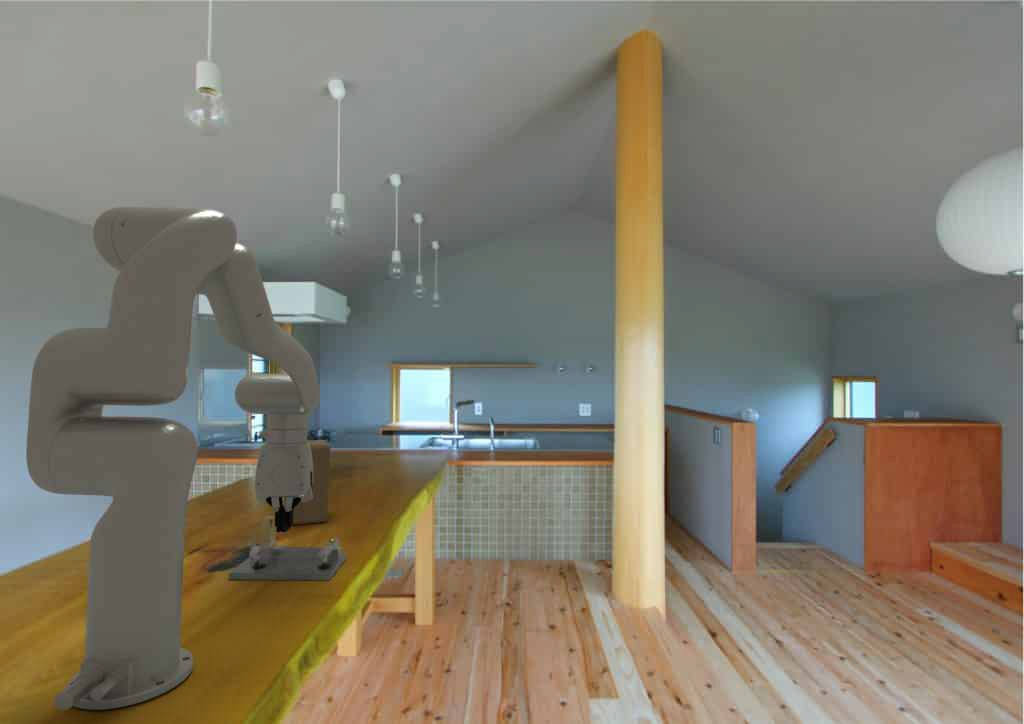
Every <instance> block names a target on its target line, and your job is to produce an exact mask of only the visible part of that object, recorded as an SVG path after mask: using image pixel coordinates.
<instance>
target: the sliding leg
mask: <svg viewBox="0 0 1024 724" xmlns="http://www.w3.org/2000/svg"><path fill="white" fill-rule="evenodd" d="M276 529H277V527H275V515H266V516H264V517H263V518H262V519H261V518H260V538H259V539H260V540H259V543H260V544H259V545H257V546H258V547H256V548H255V549H254V550H252V551H251V552H250V551H249V554H248V555H249V556H248V558H249V557H255V559H254V565H259V555H260V554H262V553H263V552H264V551H265V550H267V549H268V548H270V547H271V546H275V544H276V538H277V537H276V535H277V534H276V533H277V532H276Z"/></svg>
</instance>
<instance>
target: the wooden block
mask: <svg viewBox="0 0 1024 724" xmlns="http://www.w3.org/2000/svg"><path fill="white" fill-rule="evenodd" d="M307 444H310V447H311V452H312V460H313V489H312V494H313V498H312V499H311V500H310V501H306V502H301V503H299V504H298V505H297V506H296V507H295V508H294V509H293V525H292V526H295V525H296V526H297V525H298V526H299V525H307V524H319V523H321V522H322V523H326V522H327V521H328V520H329V519H328V518H329V502H330V501H329V499H330V496H329V494H330V471H331V470H330V469H331V468H330V464H331V445H330V443H328V442H327V441H326V440H324V439H317V440H315V439H313V440H311V439H309V440H308V439H307ZM286 500H287V497H284V508H285V505H286Z"/></svg>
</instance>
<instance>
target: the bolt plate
mask: <svg viewBox="0 0 1024 724" xmlns="http://www.w3.org/2000/svg"><path fill="white" fill-rule="evenodd" d="M339 541H340V540H339V538H335V537H334V538H333V537H332V538H329V539H328V541H326V543H325V545H324V546H305V545H304V546H294V545H293V546H291V545H290V546H289V545H288V546H287V545H285V546H284V545H283V546H282V545H272V546H271V547H270V548H268V549H267V550H265V551H264V552H263V553H262V554H260V555H259V565H254V559H255V557H249V556H248V558H247V559H245V560H243V562H241V563H240V564H239V565H237V566H236V567H235V568H234V569H232V570H230V571H229V572H228V580H229V581H230V580H233V581H235V580H237V581H239V580H244V581H245V580H247V581H251V580H252V581H257V580H259V581H260V580H261V581H269V580H270V581H330V580H331V579H332V577H334V575H335V573H336V572H337V571H338V570H339V568H341V566H342V564H344V562H345V561H346V560H347V552H341V551H342V546H339ZM258 546H259V545H254V546H252V547H251V548H250V551H249V553H250V552H251V551H252V550H254V549H255V548H256V547H258Z"/></svg>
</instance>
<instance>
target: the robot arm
mask: <svg viewBox="0 0 1024 724" xmlns="http://www.w3.org/2000/svg"><path fill="white" fill-rule="evenodd" d="M92 230H93V231H92V236H93V237H92V238H93V243H94V245H95V248H96V251H97V252H98V254H99V255H100V256H101V257H102V259H103V260H104V261H105V262H106V263H107V264H108V265H109V266H111V267H112V268H113V269H115V270H117V271H118V272H119V273H118V275H117V277H116V279H115V282H114V284H113V288H112V291H111V292H112V294H111V301H110V302H111V303H110V309H109V310H110V311H109V317H108V322H107V326H105V327H76V328H68V329H65V330H63V331H60V332H58V333H55V334H54V335H52V336H51V337H50V338H49V339H48V340H47V341H46V342H45V343H44V344H43V345H42V347H41V349H40V350H39V352H38V353H37V355H36V357H35V360H34V364H33V368H32V371H31V372H32V373H31V381H30V391H29V392H30V394H29V406H28V407H29V408H28V418H27V419H28V421H27V432H26V433H27V434H26V450H25V451H26V452H25V453H26V454H25V455H26V456H25V457H26V465H27V466H26V467H27V470H28V473H29V476H30V479H31V481H33V483H34V484H35V486H37V487H38V488H39V489H41V490H44V491H46V492H49V493H52V494H59V495H72V496H73V495H75V496H76V495H77V496H103V497H111V498H112V501H111V503H110V505H109V506H108V508H107V509H106V510H105V512H104V513H103V515H101V517H100V518H99V520H98V522H97V523H96V524H95V526H94V528H93V531H92V533H91V536H90V540H89V550H88V575H87V577H88V578H87V579H88V580H87V596H86V597H87V599H86V616H85V617H86V618H85V619H86V620H85V621H86V623H85V637H84V638H85V639H84V658H83V659H84V660H83V661H82V662H80V665H79V670H78V671H77V672H75V674H74V675H73V676H72V677H71V678H70V679H69V680H68V682H67V683H66V686H65V688H64V689H63V690H61V691H59V693H57V694H56V696H55V697H54V705H55V708H57V709H58V710H60V711H66V710H70V708H72V707H74V708H77V709H82V710H88V711H89V710H91V711H101V710H110V709H111V710H113V709H118V708H122V707H128V706H132V705H136V704H139V703H142V702H146V701H149V700H152V699H153V698H156V697H158V696H161V695H163V694H165V693H167V692H169V691H170V690H172V689H173V688H176V687H177V686H178V685H180V684H182V682H184V680H185V679H186V678H187V677H189V675H190V674H191V673H192V671H193V668H194V655H193V654H192V652H191V651H190V650H188V649H186V648H184V647H181V632H182V631H181V627H182V626H181V625H182V604H183V603H182V602H183V586H184V585H183V582H184V581H183V579H184V557H185V555H184V553H185V535H186V533H185V532H186V515H187V506H188V499H189V493H190V490H191V485H192V481H193V476H194V473H195V469H196V465H197V460H198V452H199V450H198V442H197V439H196V436H195V434H194V433H193V432H192V431H191V430H190V428H188V427H187V426H186V425H185V424H183V423H180V422H178V421H177V420H173V419H169V418H168V419H167V418H164V417H156V416H155V417H153V416H122V415H121V416H119V415H118V416H106V415H105V416H103V411H104V409H103V408H104V406H131V407H132V406H137V407H138V406H139V407H141V406H142V407H147V406H160V405H166V404H169V403H170V404H171V403H173V402H174V401H176V400H178V399H180V397H181V396H182V395H183V393H184V391H185V389H186V386H187V382H188V374H189V368H190V367H189V365H190V354H191V353H190V351H191V350H190V349H191V335H192V322H193V321H192V319H193V310H194V308H193V307H194V302H195V298H196V295H203V296H205V297H206V299H207V301H208V303H209V306H210V309H211V310H212V313H213V316H214V318H215V320H216V323H217V326H218V330H219V331H220V334H221V337H222V339H223V340H224V341H225V342H226V343H227V344H229V345H230V346H232V347H234V348H236V349H238V350H241V351H243V352H245V353H248V354H250V355H252V356H255V357H258V358H261V359H264V360H266V361H269V362H270V363H272V364H274V365H276V366H278V367H279V368H280V369H281V370H283V371H284V372H285V373H251V374H248V375H245V376H244V377H243V378H241V380H239V381H238V383H237V384H236V387H235V390H234V399H235V402H236V404H237V406H238V407H239V408H240V410H242V411H244V412H246V413H250V414H252V415H253V414H254V415H256V414H257V415H266V427H265V430H260V432H259V433H258V437H259V438H262V439H264V442H265V443H263V444H261V445H260V449H259V454H258V457H257V465H256V470H255V478H254V479H255V480H254V493H255V494H256V496H255V499H256V500H257V501H259V502H264V503H267V504H268V505H269V506H270V508H272V512H274V516H275V527H276V533H281V532H282V533H286V532H288V531H290V529H291V527H293V526H294V525H293V509H294V508H295V507H296V506H297V505H298V504H299V503H301V502H306V501H310V500H311V499H312V498H313V494H312V489H313V460H312V452H311V447H310V444H307V440H308V424H309V423H308V422H309V421H308V418H309V414H311V413H313V411H314V410H315V409H316V408H317V407H318V405H319V401H320V395H321V393H320V385H319V380H318V374H317V371H316V367H315V364H314V361H313V358H312V356H311V355H310V353H309V352H308V350H307V349H306V348H305V347H304V346H303V345H302V344H301V343H300V342H299V341H298V340H297V339H296V338H295V337H294V336H293V335H292V334H290V333H289V332H288V331H287V330H285V329H284V327H281V326H280V325H279V324H277V323H276V320H275V319H274V315H273V311H272V308H271V305H270V301H269V298H268V295H267V292H266V288H265V285H264V282H263V279H262V275H261V272H260V268H259V265H258V262H257V259H256V256H255V255H254V253H253V252H252V250H251V249H250V248H249V247H247V246H246V245H244V244H241V243H239V242H237V241H238V232H237V231H238V230H237V227H236V225H235V223H234V221H233V220H232V218H231V217H230V216H229V215H227V214H226V213H223V212H222V211H218V210H216V209H211V208H204V207H186V206H185V207H184V206H181V207H180V206H178V207H177V206H164V207H158V206H157V207H155V206H154V207H153V206H151V207H150V206H148V207H147V206H120V207H113V208H109V209H107V210H105V211H104V212H102V213H101V214H100V215H99V216H97V219H96V220H95V222H94V225H93V228H92ZM285 497H287V500H286V505H285V500H284V498H285ZM284 507H285V508H284Z"/></svg>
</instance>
